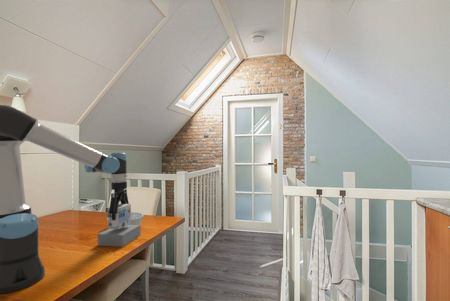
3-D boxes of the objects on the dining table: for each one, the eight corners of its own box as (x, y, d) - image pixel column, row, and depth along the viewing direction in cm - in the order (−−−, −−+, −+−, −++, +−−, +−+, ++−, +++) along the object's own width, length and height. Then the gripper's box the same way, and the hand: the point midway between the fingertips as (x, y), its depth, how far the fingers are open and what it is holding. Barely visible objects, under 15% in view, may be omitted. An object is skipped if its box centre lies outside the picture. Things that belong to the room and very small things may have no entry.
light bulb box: (119, 229, 118) (118, 208, 118) (107, 229, 119) (107, 207, 120) (131, 223, 129) (131, 203, 129) (120, 222, 130) (120, 203, 130)
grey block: (122, 247, 115) (122, 235, 115) (97, 245, 117) (97, 234, 118) (140, 235, 131) (140, 225, 131) (118, 234, 133) (117, 224, 133)
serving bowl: (127, 234, 133) (127, 222, 133) (99, 231, 139) (98, 219, 140) (150, 223, 152) (150, 213, 152) (124, 221, 159) (124, 211, 159)
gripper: (116, 184, 112) (117, 229, 112) (134, 179, 136) (135, 216, 136) (100, 184, 112) (101, 230, 112) (121, 179, 136) (122, 216, 136)
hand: (119, 222), depth 124 cm, fingers closed on light bulb box, 11 cm apart
